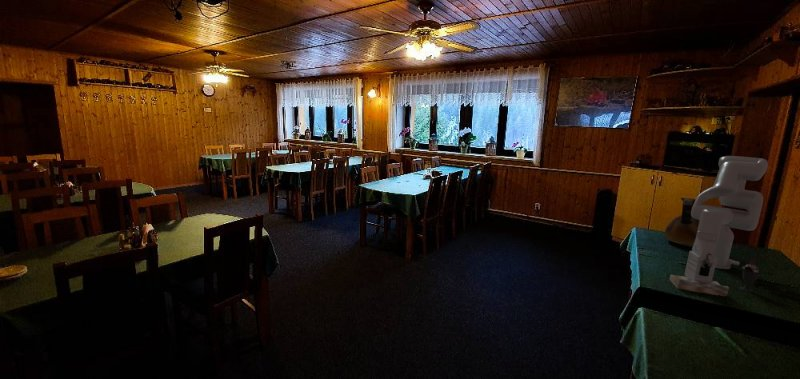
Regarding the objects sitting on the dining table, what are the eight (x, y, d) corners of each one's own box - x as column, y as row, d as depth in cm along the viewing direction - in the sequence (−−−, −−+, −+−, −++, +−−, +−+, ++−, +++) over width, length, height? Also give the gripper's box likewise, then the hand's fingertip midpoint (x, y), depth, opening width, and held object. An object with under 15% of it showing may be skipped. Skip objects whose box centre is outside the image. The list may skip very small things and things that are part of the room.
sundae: (750, 287, 160) (758, 258, 157) (759, 294, 154) (768, 263, 151) (732, 285, 162) (740, 255, 159) (741, 291, 156) (749, 261, 153)
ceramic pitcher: (704, 244, 216) (714, 198, 209) (702, 253, 201) (713, 204, 195) (665, 236, 229) (674, 193, 222) (661, 244, 214) (670, 198, 208)
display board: (715, 286, 160) (717, 277, 159) (726, 296, 151) (729, 287, 150) (669, 279, 166) (671, 270, 166) (677, 288, 157) (679, 279, 156)
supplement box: (701, 277, 162) (707, 252, 159) (711, 284, 155) (718, 258, 152) (683, 275, 163) (689, 250, 161) (693, 282, 156) (699, 256, 154)
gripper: (689, 229, 164) (681, 263, 167) (706, 241, 148) (697, 278, 152) (708, 231, 161) (700, 265, 165) (727, 243, 145) (718, 281, 149)
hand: (699, 271), depth 158 cm, fingers closed on supplement box, 8 cm apart
